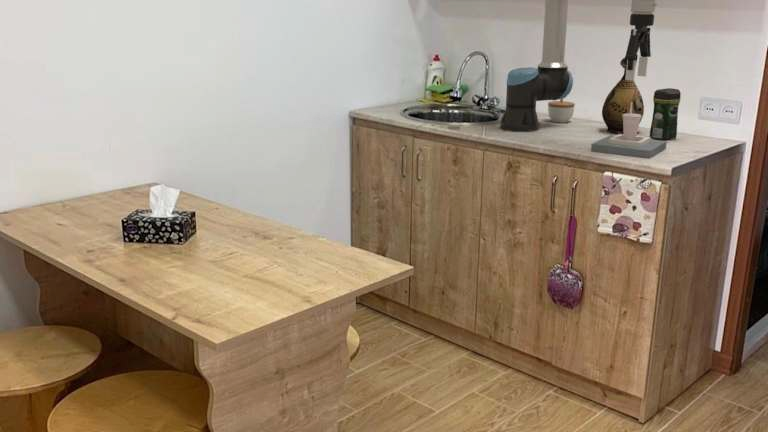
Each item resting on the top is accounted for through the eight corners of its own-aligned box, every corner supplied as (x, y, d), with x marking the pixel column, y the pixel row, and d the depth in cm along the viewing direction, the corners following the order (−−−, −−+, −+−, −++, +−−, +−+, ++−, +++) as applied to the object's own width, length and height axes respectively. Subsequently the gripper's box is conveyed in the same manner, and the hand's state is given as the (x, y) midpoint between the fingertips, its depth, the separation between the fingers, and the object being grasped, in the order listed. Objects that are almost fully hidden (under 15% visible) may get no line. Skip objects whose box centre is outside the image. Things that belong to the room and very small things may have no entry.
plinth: (590, 150, 265) (591, 139, 264) (609, 141, 281) (610, 130, 280) (649, 158, 254) (651, 146, 253) (665, 148, 270) (667, 137, 269)
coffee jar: (662, 135, 294) (667, 86, 288) (679, 138, 287) (685, 88, 282) (645, 137, 289) (650, 88, 283) (662, 141, 282) (668, 90, 277)
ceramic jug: (635, 137, 290) (644, 56, 281) (595, 132, 298) (602, 53, 289) (647, 130, 304) (655, 52, 295) (608, 126, 312) (615, 50, 303)
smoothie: (616, 140, 270) (620, 100, 266) (634, 140, 270) (638, 100, 266) (623, 144, 264) (627, 103, 260) (641, 144, 264) (646, 103, 260)
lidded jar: (547, 118, 328) (549, 96, 325) (573, 120, 325) (575, 97, 322) (546, 123, 318) (547, 100, 315) (572, 124, 315) (574, 101, 312)
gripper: (643, 14, 243) (635, 82, 249) (664, 12, 262) (657, 75, 269) (619, 14, 247) (612, 80, 253) (642, 11, 266) (635, 73, 273)
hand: (635, 78), depth 261 cm, fingers open, 13 cm apart
